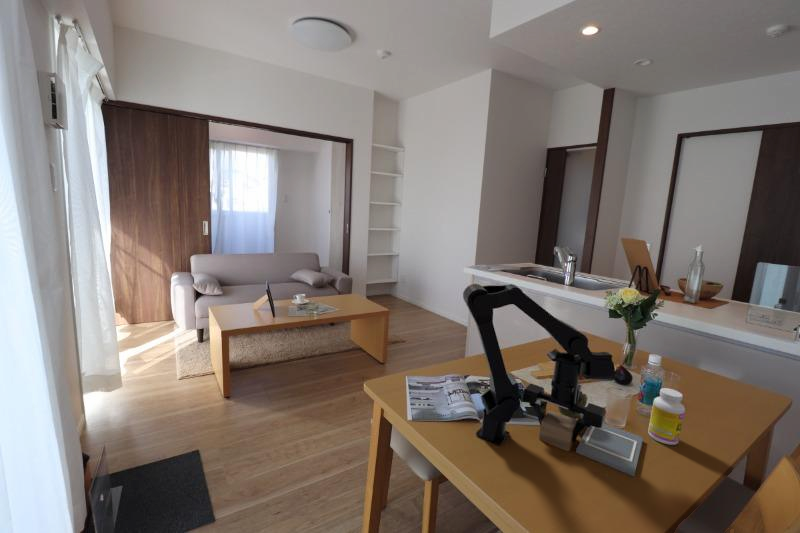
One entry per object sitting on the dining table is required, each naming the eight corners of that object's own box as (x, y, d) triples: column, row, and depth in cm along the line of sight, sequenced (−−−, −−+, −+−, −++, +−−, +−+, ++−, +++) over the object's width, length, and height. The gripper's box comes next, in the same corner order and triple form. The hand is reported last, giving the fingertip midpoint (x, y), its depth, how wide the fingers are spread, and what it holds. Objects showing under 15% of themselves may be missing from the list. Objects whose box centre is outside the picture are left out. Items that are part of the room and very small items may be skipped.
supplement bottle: (677, 449, 93) (686, 402, 90) (645, 437, 97) (654, 392, 95) (679, 438, 98) (688, 392, 96) (649, 427, 102) (657, 383, 100)
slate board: (634, 476, 82) (635, 471, 82) (576, 452, 89) (576, 447, 89) (642, 441, 95) (643, 436, 95) (591, 422, 103) (591, 418, 102)
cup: (549, 419, 103) (553, 392, 102) (560, 410, 108) (564, 384, 107) (577, 432, 98) (581, 403, 96) (587, 421, 103) (591, 394, 102)
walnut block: (568, 451, 89) (571, 432, 89) (539, 439, 94) (541, 421, 93) (575, 438, 95) (578, 420, 94) (547, 427, 99) (549, 409, 98)
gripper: (614, 378, 92) (605, 436, 95) (538, 356, 103) (531, 408, 106) (606, 395, 83) (596, 458, 86) (524, 369, 95) (517, 425, 97)
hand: (557, 435), depth 94 cm, fingers closed on walnut block, 7 cm apart
